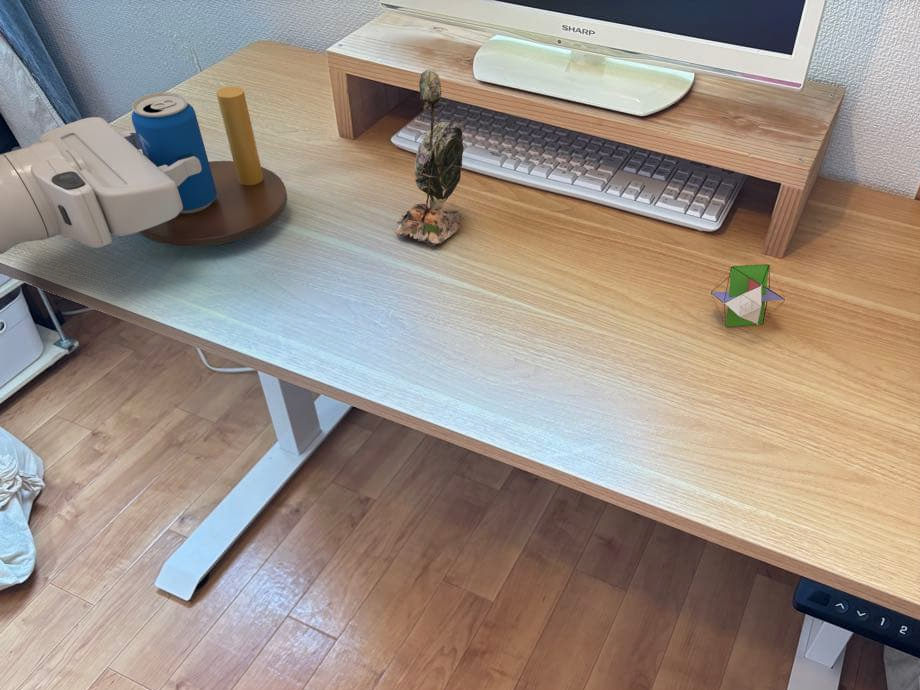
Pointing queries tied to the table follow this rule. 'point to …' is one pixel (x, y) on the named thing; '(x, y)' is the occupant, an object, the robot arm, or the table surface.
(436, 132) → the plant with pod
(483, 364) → the table surface
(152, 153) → the beverage can
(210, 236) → the tray
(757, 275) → the geometric puzzle
